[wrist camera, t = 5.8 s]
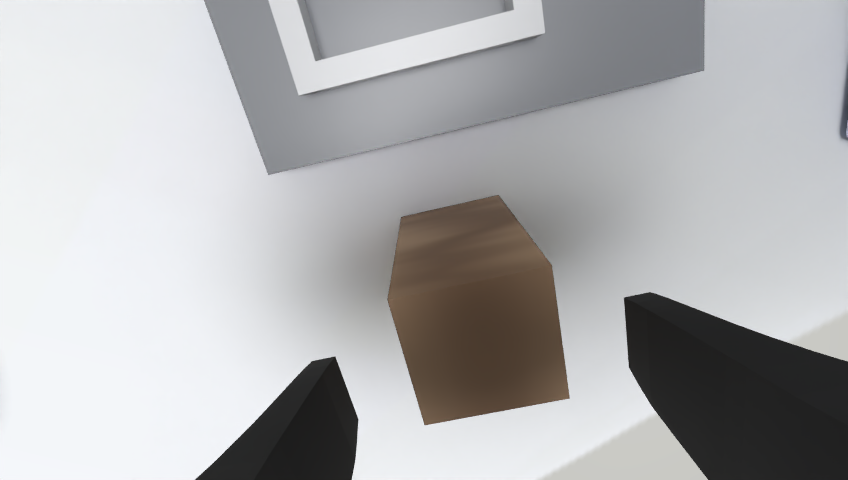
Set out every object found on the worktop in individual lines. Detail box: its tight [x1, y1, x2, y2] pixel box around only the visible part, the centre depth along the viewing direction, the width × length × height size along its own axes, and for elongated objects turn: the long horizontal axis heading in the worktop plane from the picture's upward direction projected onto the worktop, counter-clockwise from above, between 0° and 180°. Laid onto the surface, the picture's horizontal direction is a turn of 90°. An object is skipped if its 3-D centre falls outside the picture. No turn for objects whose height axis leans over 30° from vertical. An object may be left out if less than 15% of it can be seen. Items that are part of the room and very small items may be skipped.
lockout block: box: [388, 195, 570, 425], centre depth 14 cm, size 4×4×7 cm
